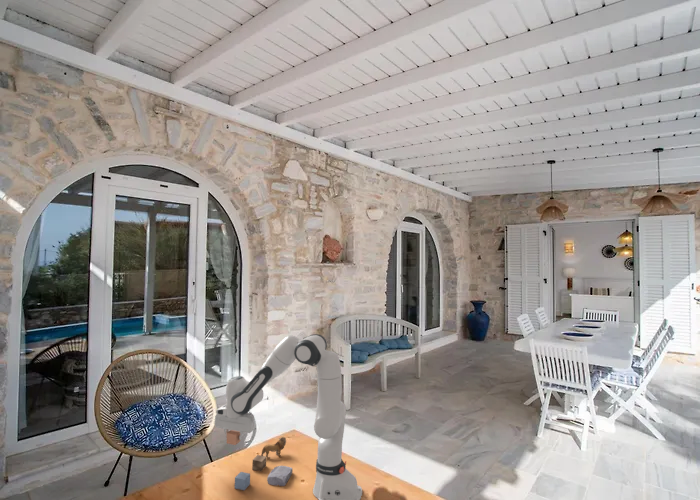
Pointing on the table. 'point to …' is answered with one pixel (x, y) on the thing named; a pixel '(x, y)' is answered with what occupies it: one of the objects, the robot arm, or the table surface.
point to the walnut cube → (259, 463)
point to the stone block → (279, 475)
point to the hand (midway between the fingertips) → (234, 438)
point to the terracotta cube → (233, 437)
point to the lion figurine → (274, 447)
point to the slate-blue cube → (242, 481)
